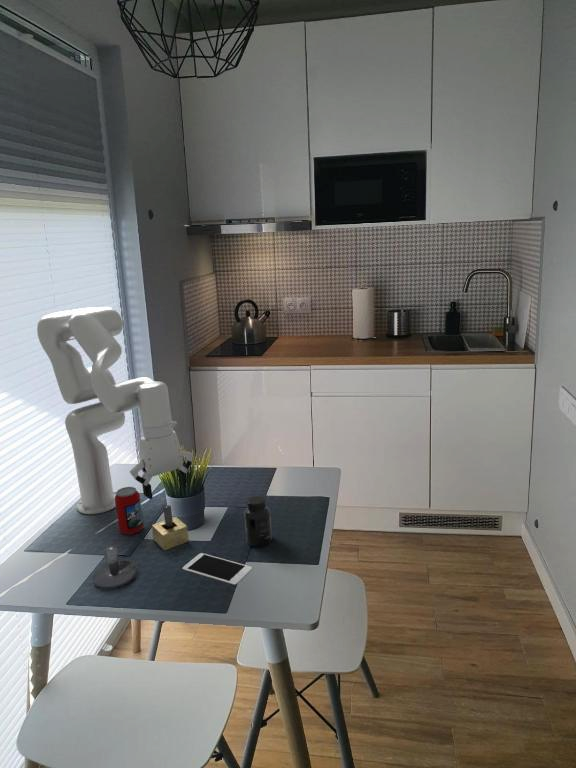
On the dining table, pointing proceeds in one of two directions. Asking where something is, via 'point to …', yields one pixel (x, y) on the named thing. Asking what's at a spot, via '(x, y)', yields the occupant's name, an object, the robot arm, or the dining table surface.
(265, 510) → the supplement bottle
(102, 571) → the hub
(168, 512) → the stand rod
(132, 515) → the beverage can
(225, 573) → the cell phone
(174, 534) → the collar
